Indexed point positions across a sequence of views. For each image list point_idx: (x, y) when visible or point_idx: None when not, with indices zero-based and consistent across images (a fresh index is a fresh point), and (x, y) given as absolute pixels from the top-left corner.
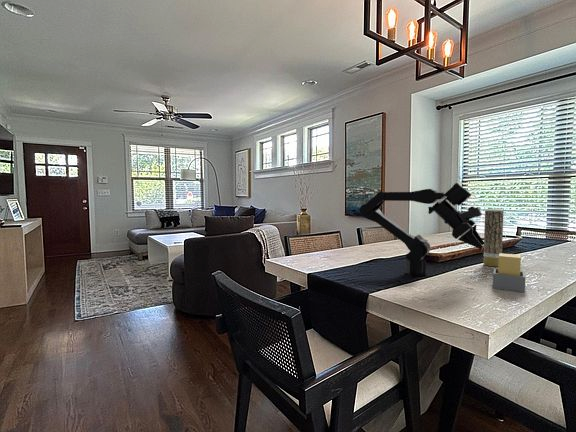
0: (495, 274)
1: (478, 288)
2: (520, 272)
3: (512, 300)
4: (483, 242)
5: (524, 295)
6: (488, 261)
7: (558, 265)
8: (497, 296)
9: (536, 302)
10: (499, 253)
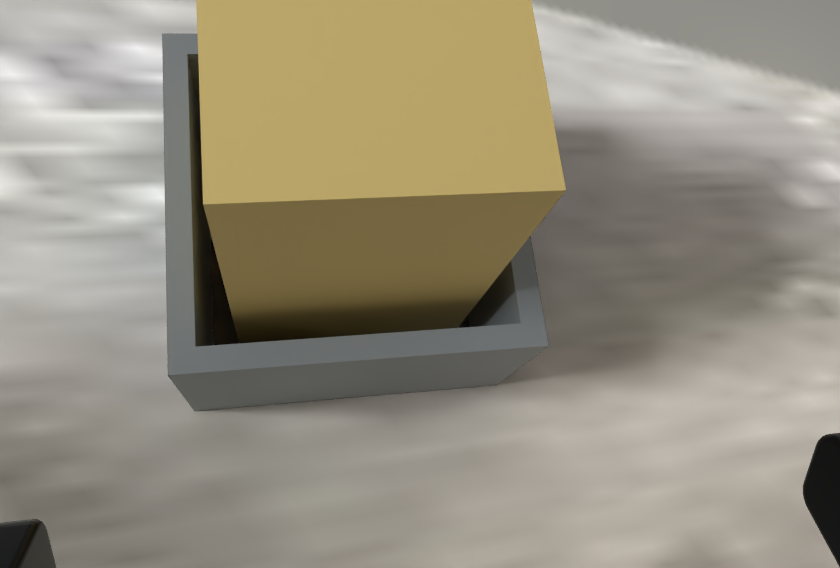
0: (541, 321)
1: (623, 505)
2: (189, 80)
3: (788, 202)
4: (28, 554)
5: (565, 128)
6: None
7: None
8: (767, 310)
9: (704, 60)
10: (246, 200)
